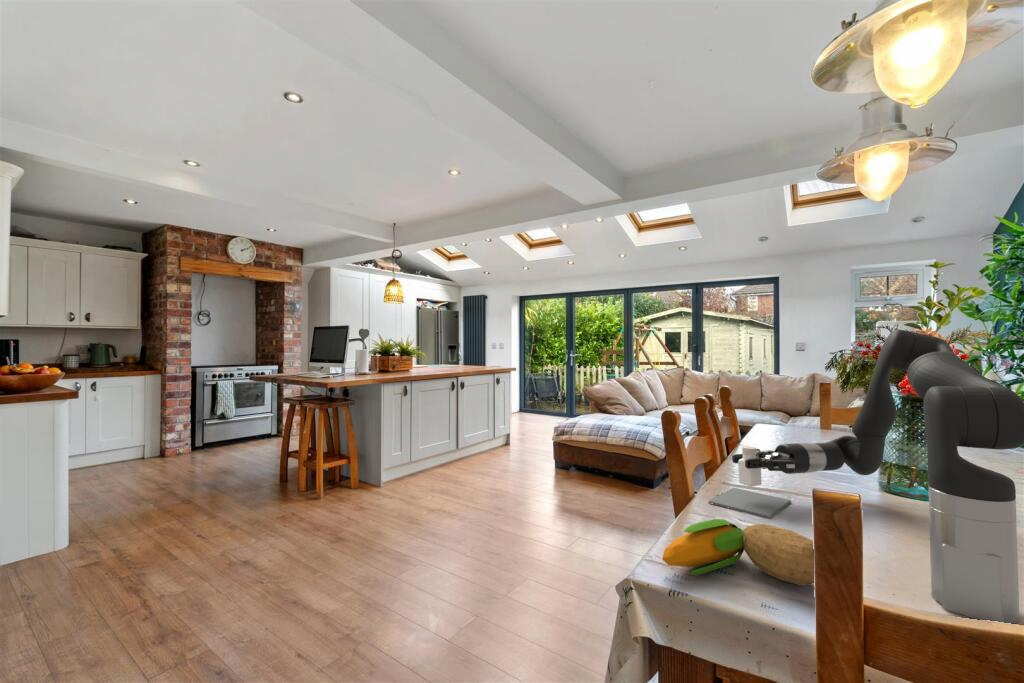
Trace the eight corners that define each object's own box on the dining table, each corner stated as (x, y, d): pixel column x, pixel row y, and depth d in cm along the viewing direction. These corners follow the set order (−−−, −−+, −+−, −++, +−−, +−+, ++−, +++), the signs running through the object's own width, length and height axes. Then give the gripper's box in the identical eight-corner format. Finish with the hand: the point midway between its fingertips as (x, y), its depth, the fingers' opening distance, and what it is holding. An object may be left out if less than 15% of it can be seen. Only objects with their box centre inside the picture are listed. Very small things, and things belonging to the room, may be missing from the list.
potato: (762, 554, 84) (761, 512, 84) (844, 591, 71) (843, 541, 71) (727, 565, 80) (726, 521, 80) (807, 606, 67) (806, 553, 67)
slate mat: (769, 518, 102) (769, 515, 102) (708, 503, 112) (708, 500, 112) (790, 502, 112) (790, 499, 113) (733, 489, 123) (733, 487, 123)
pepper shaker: (762, 485, 111) (761, 447, 112) (751, 487, 110) (750, 449, 110) (749, 481, 115) (747, 444, 115) (737, 483, 114) (736, 446, 114)
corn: (756, 519, 81) (681, 542, 72) (760, 562, 81) (684, 590, 71) (721, 509, 88) (647, 529, 78) (724, 549, 87) (650, 573, 78)
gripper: (779, 438, 122) (722, 440, 119) (822, 449, 107) (757, 453, 105) (780, 465, 121) (722, 468, 119) (823, 480, 107) (758, 484, 105)
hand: (739, 461), depth 112 cm, fingers closed on pepper shaker, 4 cm apart
